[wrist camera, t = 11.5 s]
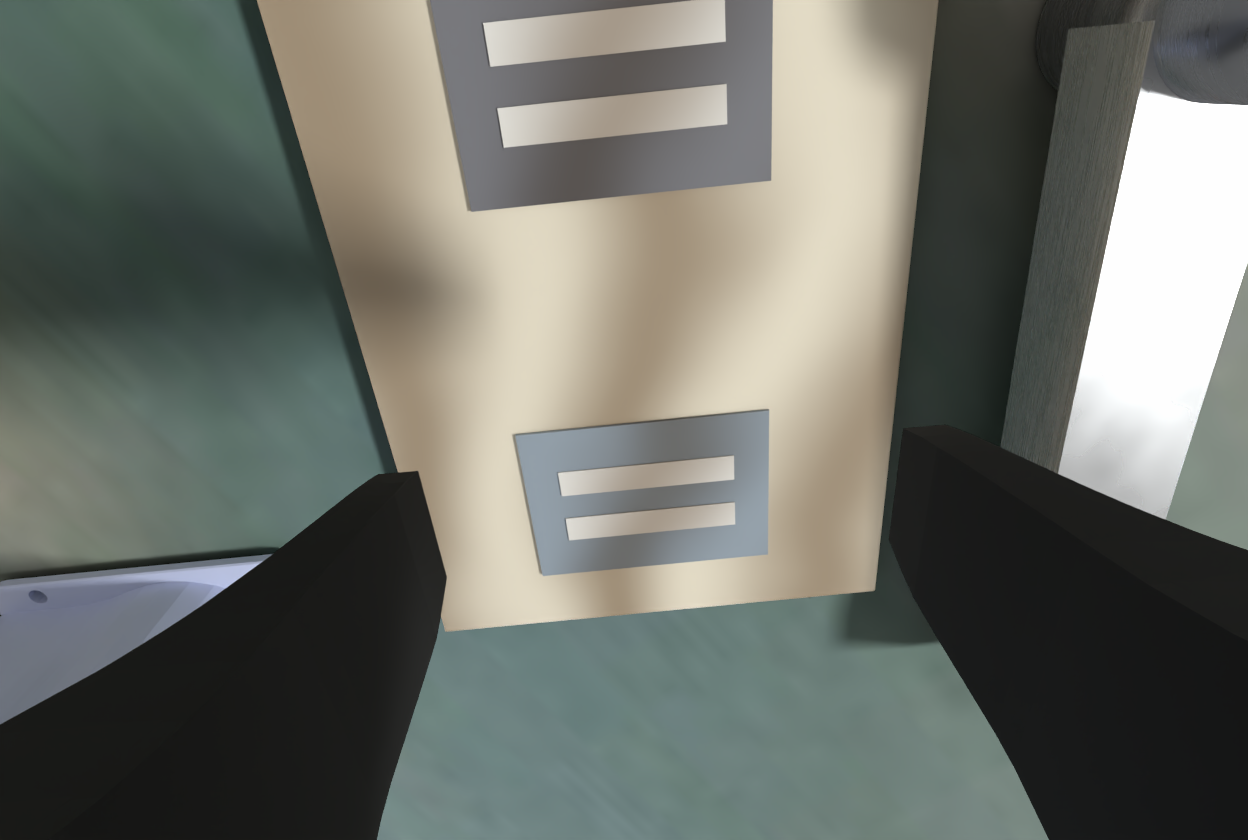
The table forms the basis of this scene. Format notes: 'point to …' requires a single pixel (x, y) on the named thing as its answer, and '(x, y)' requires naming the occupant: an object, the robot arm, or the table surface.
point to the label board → (624, 281)
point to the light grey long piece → (1132, 240)
